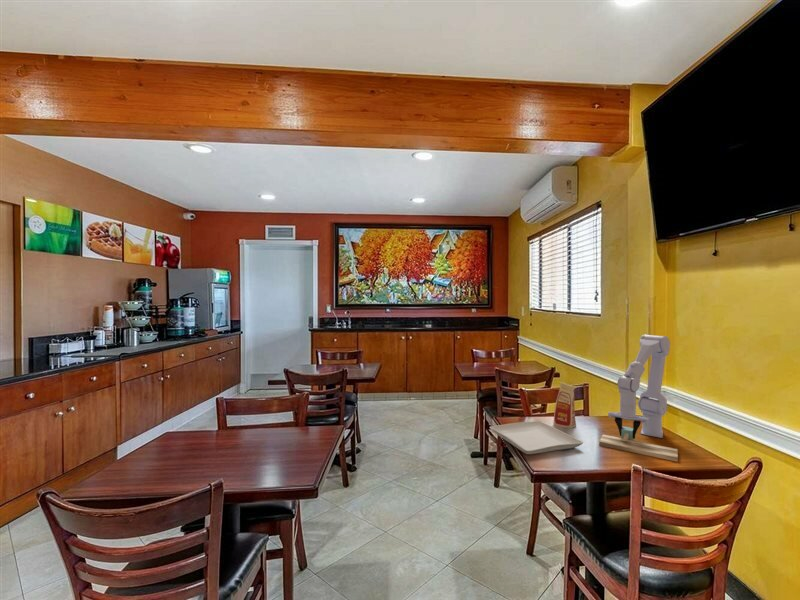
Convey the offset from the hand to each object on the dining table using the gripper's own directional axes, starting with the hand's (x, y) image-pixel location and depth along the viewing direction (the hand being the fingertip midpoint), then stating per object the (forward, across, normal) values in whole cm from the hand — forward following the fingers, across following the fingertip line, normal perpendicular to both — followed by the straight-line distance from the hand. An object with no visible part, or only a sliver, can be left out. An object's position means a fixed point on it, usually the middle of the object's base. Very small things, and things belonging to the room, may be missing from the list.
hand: (627, 436), depth 161 cm
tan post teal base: (+2, 0, -4) cm, 4 cm away
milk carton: (+2, -26, +6) cm, 27 cm away
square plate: (+2, -32, -25) cm, 41 cm away
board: (+2, +4, -8) cm, 9 cm away
